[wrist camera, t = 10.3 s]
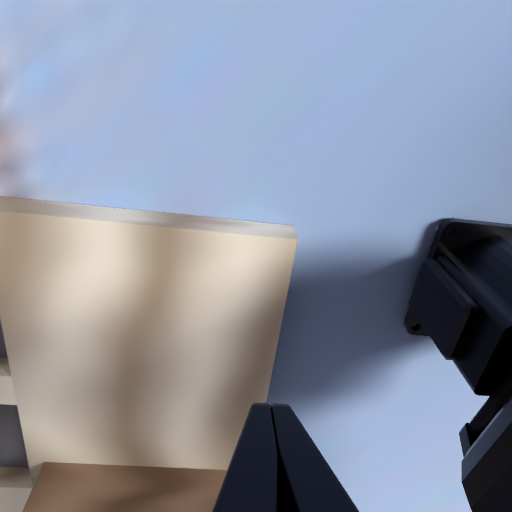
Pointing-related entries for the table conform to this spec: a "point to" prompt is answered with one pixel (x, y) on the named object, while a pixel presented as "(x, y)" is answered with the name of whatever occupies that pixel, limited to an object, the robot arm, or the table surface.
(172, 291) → the trap deck
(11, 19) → the table surface
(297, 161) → the table surface
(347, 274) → the table surface
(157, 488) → the bar
